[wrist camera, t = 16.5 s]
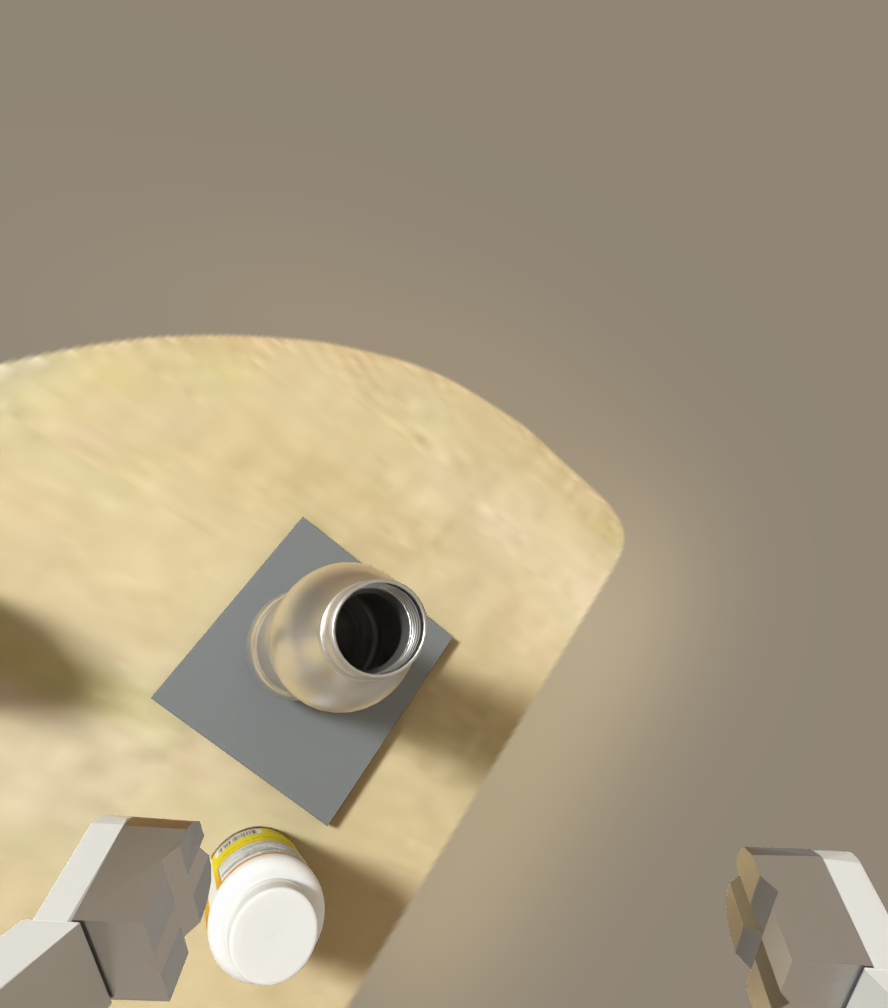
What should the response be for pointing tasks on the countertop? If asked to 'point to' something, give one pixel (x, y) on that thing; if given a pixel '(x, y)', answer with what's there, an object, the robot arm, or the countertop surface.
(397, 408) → the countertop surface
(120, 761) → the countertop surface
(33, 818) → the countertop surface
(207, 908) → the supplement bottle
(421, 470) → the countertop surface
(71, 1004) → the robot arm
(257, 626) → the silver water bottle
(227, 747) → the slate mat
